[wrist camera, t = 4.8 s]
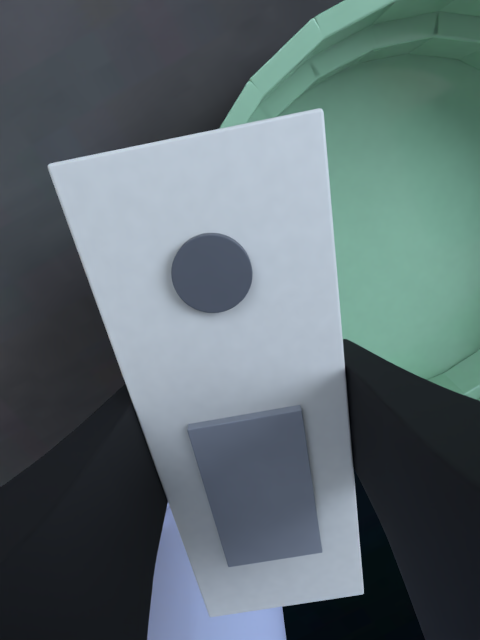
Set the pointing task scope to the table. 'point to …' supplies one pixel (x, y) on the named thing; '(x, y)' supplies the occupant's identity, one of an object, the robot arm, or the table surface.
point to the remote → (231, 348)
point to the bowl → (395, 171)
